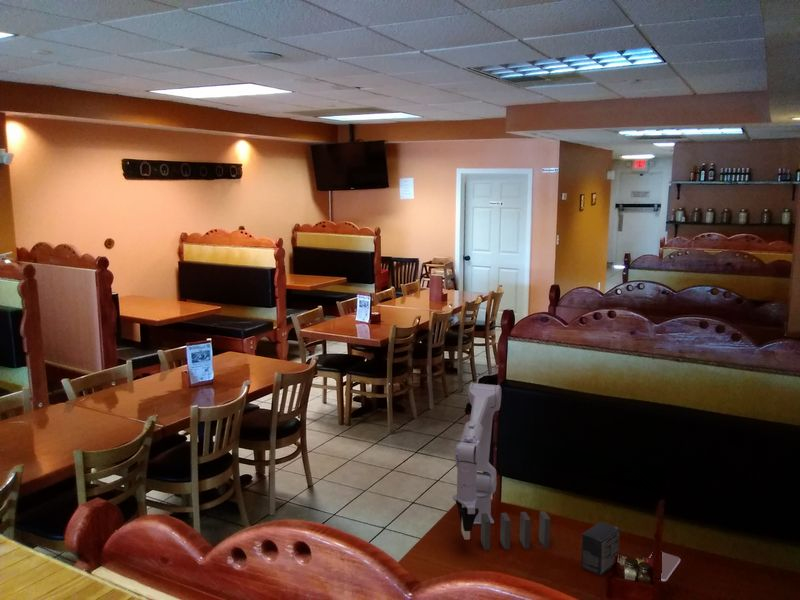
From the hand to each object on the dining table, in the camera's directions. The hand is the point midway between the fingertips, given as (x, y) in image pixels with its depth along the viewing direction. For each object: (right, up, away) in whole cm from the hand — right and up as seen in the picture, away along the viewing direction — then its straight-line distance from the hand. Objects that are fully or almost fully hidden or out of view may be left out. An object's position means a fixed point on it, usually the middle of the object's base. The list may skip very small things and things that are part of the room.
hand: (465, 525), depth 194 cm
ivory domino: (0, -3, 0) cm, 3 cm away
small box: (+37, -8, -8) cm, 39 cm away
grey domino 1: (+6, -7, +2) cm, 9 cm away
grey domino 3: (+24, -6, +3) cm, 25 cm away
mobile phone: (+54, -9, -8) cm, 55 cm away
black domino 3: (+12, -6, +2) cm, 14 cm away
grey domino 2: (+18, -6, +3) cm, 19 cm away
